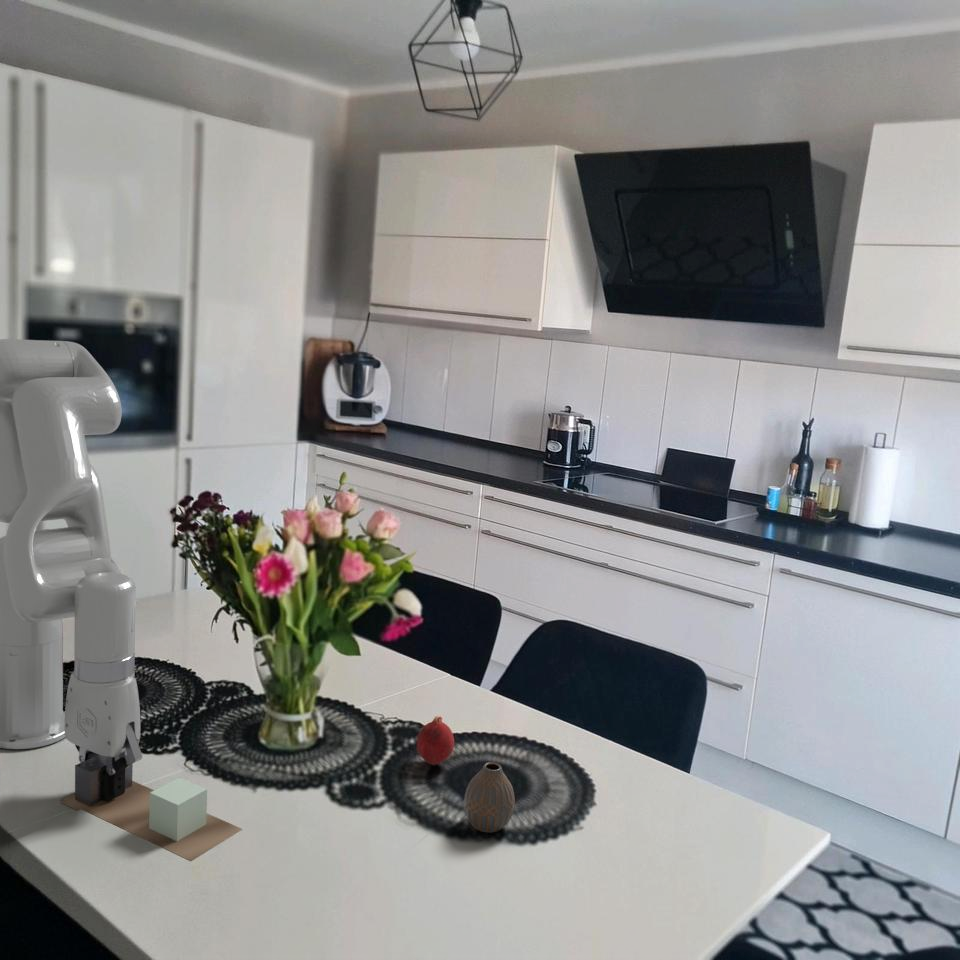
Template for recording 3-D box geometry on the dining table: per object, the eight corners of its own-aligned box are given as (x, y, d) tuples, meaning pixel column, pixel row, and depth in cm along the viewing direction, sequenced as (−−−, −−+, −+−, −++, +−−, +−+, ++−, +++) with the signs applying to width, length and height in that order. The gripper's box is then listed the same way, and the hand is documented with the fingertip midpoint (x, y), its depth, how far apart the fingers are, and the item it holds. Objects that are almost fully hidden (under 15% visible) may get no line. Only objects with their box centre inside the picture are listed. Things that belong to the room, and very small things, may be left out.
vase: (518, 819, 134) (523, 761, 133) (503, 843, 128) (509, 783, 126) (472, 807, 136) (477, 750, 135) (455, 830, 130) (460, 771, 128)
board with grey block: (61, 802, 129) (61, 764, 128) (115, 776, 136) (116, 740, 135) (191, 864, 117) (192, 823, 116) (242, 832, 125) (243, 793, 124)
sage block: (149, 828, 124) (149, 792, 123) (178, 812, 128) (179, 777, 127) (177, 841, 121) (178, 805, 120) (206, 824, 125) (207, 789, 125)
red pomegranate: (447, 777, 145) (451, 727, 143) (410, 770, 146) (414, 721, 144) (455, 759, 150) (460, 712, 149) (420, 753, 151) (424, 706, 150)
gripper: (39, 658, 128) (39, 784, 132) (125, 690, 121) (123, 823, 124) (86, 643, 135) (85, 764, 138) (170, 673, 127) (167, 800, 130)
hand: (103, 791), depth 131 cm, fingers closed on board with grey block, 3 cm apart
